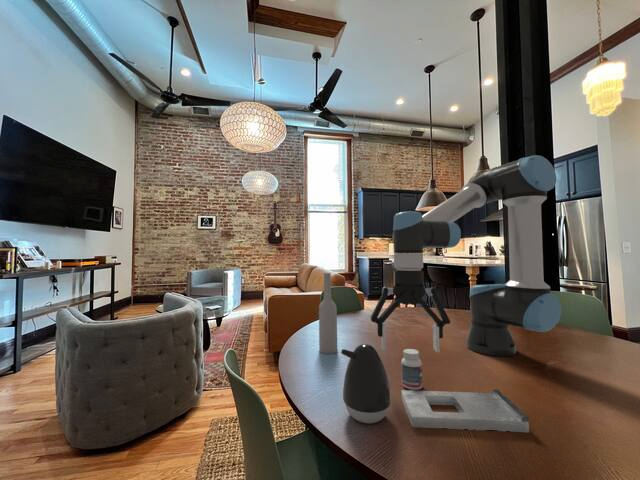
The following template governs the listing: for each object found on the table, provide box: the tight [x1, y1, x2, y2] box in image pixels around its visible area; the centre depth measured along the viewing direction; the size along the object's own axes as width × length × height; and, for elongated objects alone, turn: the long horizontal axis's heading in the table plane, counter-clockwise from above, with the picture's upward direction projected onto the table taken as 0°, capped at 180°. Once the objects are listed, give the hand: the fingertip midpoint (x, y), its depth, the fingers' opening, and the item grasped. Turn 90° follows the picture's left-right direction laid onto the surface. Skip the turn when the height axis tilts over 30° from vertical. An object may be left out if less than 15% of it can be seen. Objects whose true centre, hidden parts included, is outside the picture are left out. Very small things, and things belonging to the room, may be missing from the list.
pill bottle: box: [400, 348, 424, 391], centre depth 74 cm, size 5×5×9 cm
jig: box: [401, 389, 530, 434], centre depth 60 cm, size 22×11×3 cm, turn 84°
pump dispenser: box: [340, 343, 392, 424], centre depth 60 cm, size 10×10×15 cm
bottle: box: [318, 272, 338, 355], centre depth 101 cm, size 7×7×28 cm
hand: (409, 349), depth 74 cm, fingers open, 13 cm apart
